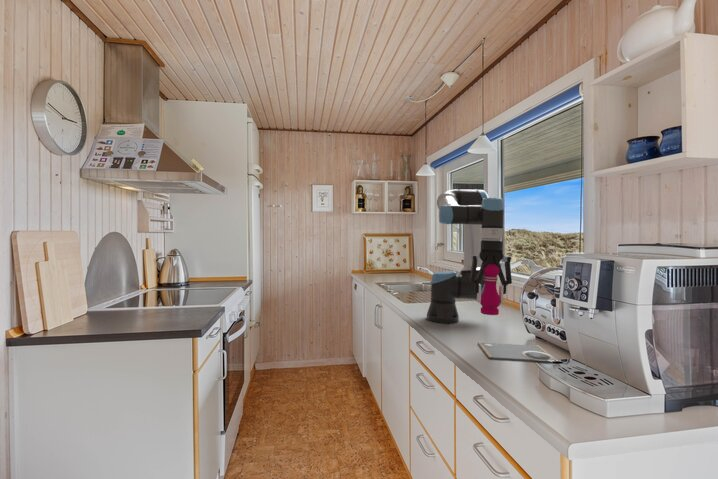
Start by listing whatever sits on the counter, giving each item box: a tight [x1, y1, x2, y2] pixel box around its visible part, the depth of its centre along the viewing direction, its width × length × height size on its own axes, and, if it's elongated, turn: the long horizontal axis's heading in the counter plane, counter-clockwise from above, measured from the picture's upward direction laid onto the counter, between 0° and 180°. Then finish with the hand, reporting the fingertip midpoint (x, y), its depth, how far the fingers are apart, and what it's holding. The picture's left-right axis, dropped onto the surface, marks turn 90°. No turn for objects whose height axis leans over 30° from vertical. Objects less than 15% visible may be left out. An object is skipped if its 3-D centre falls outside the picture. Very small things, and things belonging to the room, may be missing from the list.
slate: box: [477, 342, 558, 362], centre depth 126 cm, size 17×22×1 cm
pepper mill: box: [479, 264, 501, 316], centre depth 131 cm, size 7×7×20 cm
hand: (489, 302), depth 132 cm, fingers closed on pepper mill, 7 cm apart
